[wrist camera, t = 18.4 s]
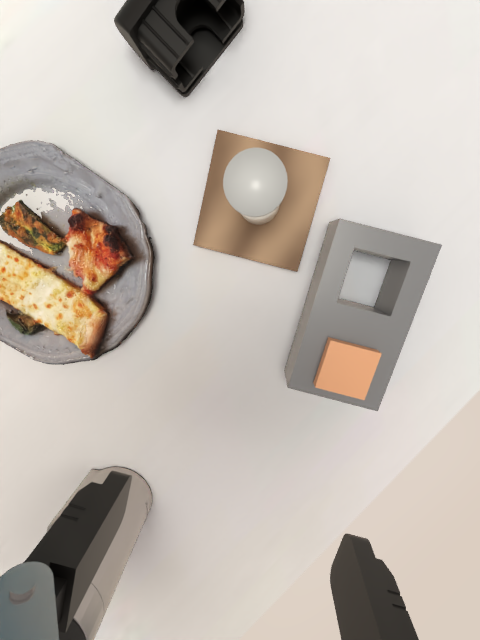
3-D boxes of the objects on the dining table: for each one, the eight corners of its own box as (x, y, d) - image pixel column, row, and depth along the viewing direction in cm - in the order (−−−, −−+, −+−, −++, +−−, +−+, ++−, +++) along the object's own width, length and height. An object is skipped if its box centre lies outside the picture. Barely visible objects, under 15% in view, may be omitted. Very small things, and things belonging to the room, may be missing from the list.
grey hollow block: (284, 370, 40) (287, 387, 35) (329, 222, 36) (339, 218, 31) (363, 391, 40) (377, 411, 35) (417, 245, 36) (441, 244, 31)
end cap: (196, -38, 32) (179, -112, 25) (248, 20, 32) (245, -38, 26) (132, 51, 34) (100, 4, 27) (183, 103, 34) (164, 70, 28)
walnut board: (195, 244, 37) (193, 245, 36) (218, 132, 35) (217, 129, 34) (296, 271, 37) (297, 271, 36) (328, 160, 35) (330, 158, 34)
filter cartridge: (232, 220, 36) (217, 208, 25) (242, 174, 35) (231, 140, 24) (274, 231, 35) (278, 222, 25) (286, 185, 34) (295, 155, 24)
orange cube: (308, 370, 38) (315, 387, 33) (322, 328, 37) (330, 340, 32) (351, 381, 38) (364, 400, 33) (366, 340, 37) (381, 353, 32)
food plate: (194, 240, 37) (186, 239, 34) (99, 391, 43) (84, 403, 39) (8, 109, 36) (-19, 94, 33) (-65, 281, 42) (-95, 284, 38)
